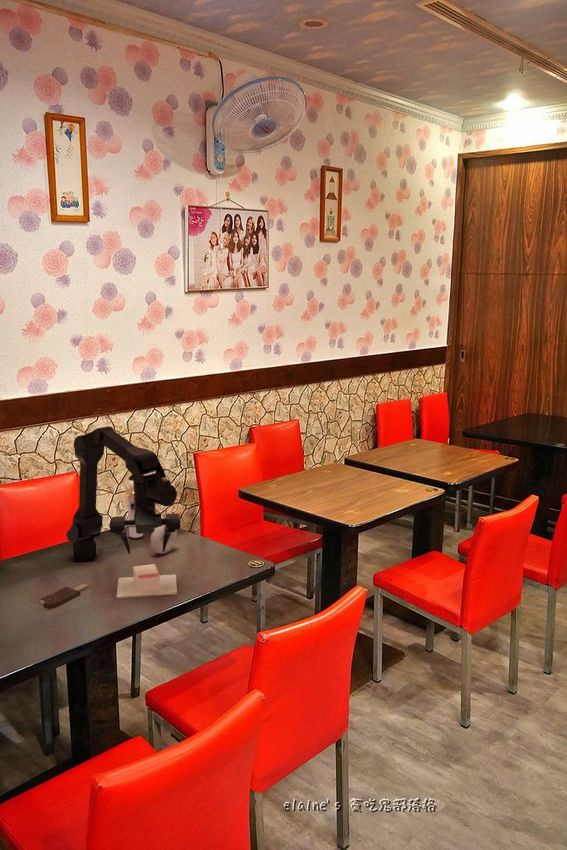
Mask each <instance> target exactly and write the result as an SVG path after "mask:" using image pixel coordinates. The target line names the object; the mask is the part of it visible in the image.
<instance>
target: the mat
mask: <svg viewBox="0 0 567 850" xmlns="http://www.w3.org/2000/svg"><path fill="white" fill-rule="evenodd" d="M159 575H160V590H158V591H151V592H143V593H138V591H137V588H136V585H135V582H134V576H129V577H118V581H117V591H116V599H126V598H138V597H140V598H141V597H154V596H169V595H177V594H178V589H177V588H178V587H177V576H176V575H177V574H163V575H162V574H159Z"/></svg>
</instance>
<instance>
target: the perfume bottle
mask: <svg viewBox="0 0 567 850" xmlns="http://www.w3.org/2000/svg"><path fill="white" fill-rule="evenodd" d="M125 494H126V495H127V516H128V517H127V518H128V519H127V520H134V514H135V513H134V486H133V481H131V480H128V488H127V489H125ZM143 536H144V533H142V534H138V533H136V527H128V537H129V538H135V539H137V538H141V537H143Z"/></svg>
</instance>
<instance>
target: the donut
mask: <svg viewBox="0 0 567 850" xmlns="http://www.w3.org/2000/svg"><path fill="white" fill-rule="evenodd" d="M164 526H165V525H162V526H161V527H158V528H154V529H155V531H154V532H153V533H151V535H150V542H149V543H150V546H151V548H152V550H153V551H154V552H155V553H157V554H161V555H164V554H168V552H170V551H171V550H172V549H173V548H174V547H175V544H176V542H177V539H178V532H177V530H178V529H177V530H176V532H172V533H171V535H170V537H169V539H168V542H167V545H166V548H165V551H164V552H163V536H164Z"/></svg>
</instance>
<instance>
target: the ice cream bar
mask: <svg viewBox="0 0 567 850" xmlns="http://www.w3.org/2000/svg"><path fill="white" fill-rule="evenodd" d="M88 586H89V585H88V583H84V584H80V585H78V586H77V587H74V588H71V587H68V586H64V587H62V588H61V589H60V588H59V589H58V590H56V591H54V592H52V593H50V594H47V595H46V596H44V597H41V598H40V599H39V605H43V608H44V609H47V608H48V610H52V609H53V608H54V609H56V608H57V607H60V606H63V605H64V604H66V603H68V602H70V601H72V600H74V599H76V598H78V597H80V596H81V591H82V590H85V589H87V588H88ZM54 609H53V610H54Z"/></svg>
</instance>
